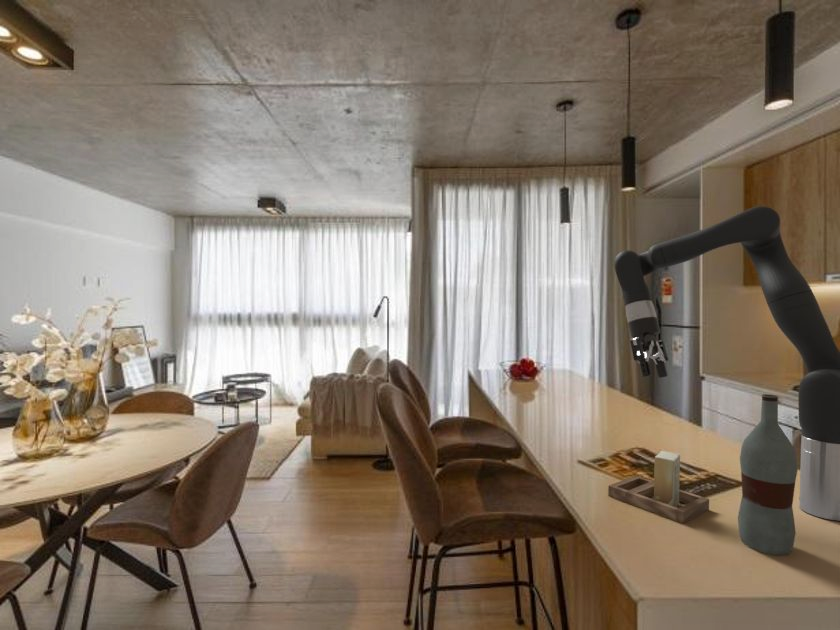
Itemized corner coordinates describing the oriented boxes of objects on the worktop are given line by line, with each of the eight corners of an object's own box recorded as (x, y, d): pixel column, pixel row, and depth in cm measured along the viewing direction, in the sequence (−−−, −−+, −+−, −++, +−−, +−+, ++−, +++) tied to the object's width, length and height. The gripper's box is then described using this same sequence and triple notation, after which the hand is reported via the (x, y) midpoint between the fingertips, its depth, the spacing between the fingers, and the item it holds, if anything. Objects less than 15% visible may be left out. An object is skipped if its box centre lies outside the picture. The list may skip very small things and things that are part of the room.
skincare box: (659, 499, 117) (661, 449, 117) (679, 504, 114) (680, 453, 114) (652, 507, 112) (653, 456, 112) (672, 513, 109) (674, 460, 109)
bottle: (796, 544, 96) (801, 395, 95) (792, 562, 89) (798, 402, 88) (740, 529, 102) (745, 389, 101) (733, 545, 95) (737, 395, 94)
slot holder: (708, 509, 112) (709, 498, 112) (682, 523, 104) (682, 512, 104) (635, 484, 126) (635, 475, 126) (608, 495, 119) (608, 485, 119)
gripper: (641, 313, 127) (656, 373, 122) (667, 318, 136) (681, 374, 131) (616, 321, 133) (628, 379, 128) (642, 325, 141) (655, 379, 137)
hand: (655, 376), depth 130 cm, fingers open, 8 cm apart
